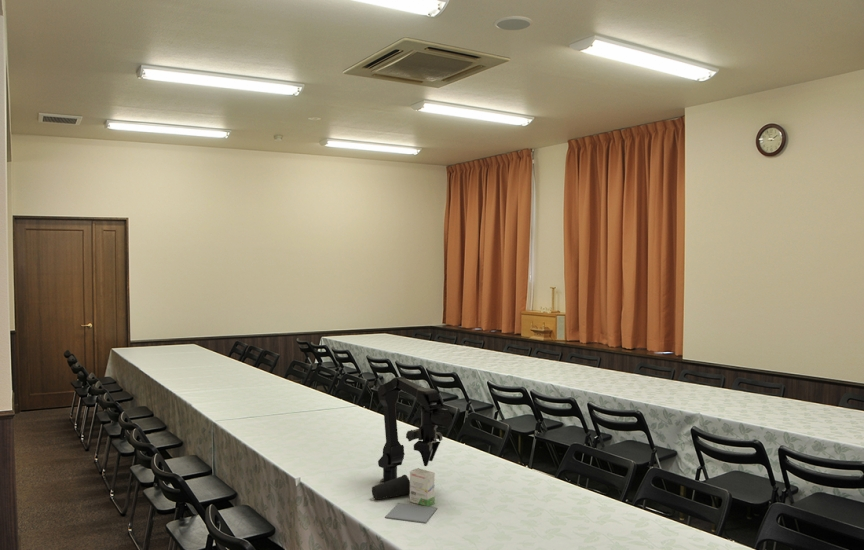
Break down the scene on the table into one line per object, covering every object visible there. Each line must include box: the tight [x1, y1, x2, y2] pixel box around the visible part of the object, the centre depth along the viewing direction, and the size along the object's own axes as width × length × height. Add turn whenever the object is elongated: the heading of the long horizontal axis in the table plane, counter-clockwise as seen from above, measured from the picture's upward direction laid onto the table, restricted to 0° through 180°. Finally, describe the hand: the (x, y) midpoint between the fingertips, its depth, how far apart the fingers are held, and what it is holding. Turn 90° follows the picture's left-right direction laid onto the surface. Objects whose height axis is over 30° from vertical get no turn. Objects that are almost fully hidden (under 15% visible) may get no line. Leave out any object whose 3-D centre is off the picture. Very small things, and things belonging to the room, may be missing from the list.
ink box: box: [409, 467, 436, 507], centre depth 237 cm, size 8×5×12 cm, turn 52°
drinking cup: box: [371, 474, 410, 501], centre depth 244 cm, size 8×8×20 cm
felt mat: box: [384, 502, 438, 524], centre depth 226 cm, size 14×15×1 cm
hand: (428, 463), depth 244 cm, fingers open, 6 cm apart
